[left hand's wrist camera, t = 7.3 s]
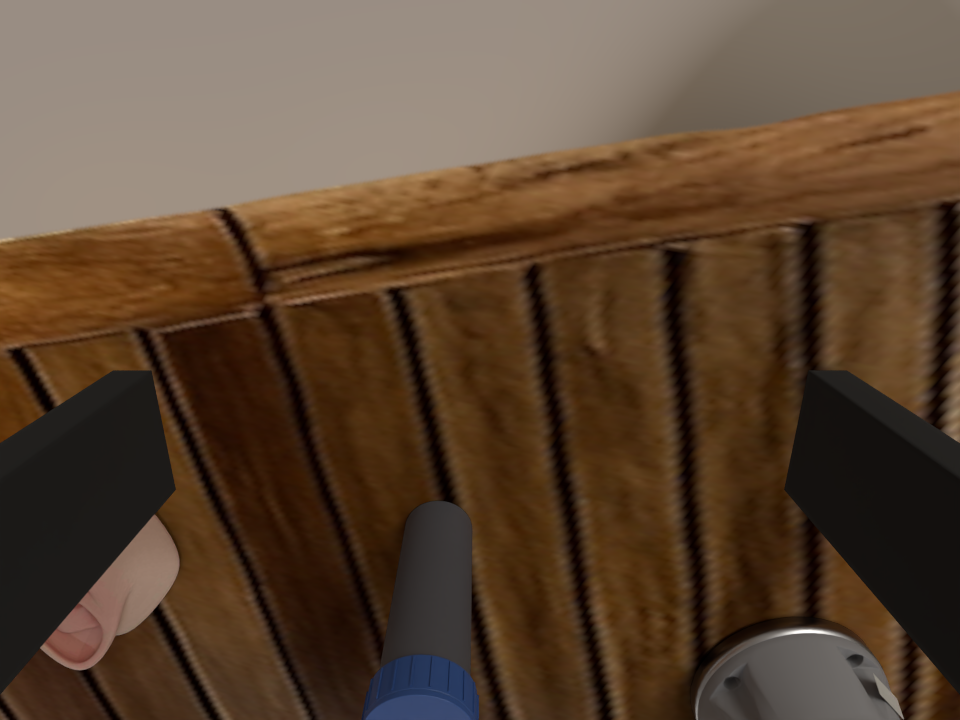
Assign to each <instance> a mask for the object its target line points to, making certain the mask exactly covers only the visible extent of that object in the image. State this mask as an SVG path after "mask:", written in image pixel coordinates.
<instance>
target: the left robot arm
mask: <svg viewBox="0 0 960 720" xmlns="http://www.w3.org/2000/svg"><path fill="white" fill-rule="evenodd" d="M175 490H176V489H175V484H174V479H173V474H172V469H171V464H170V459H169V454H168V449H167V445H166V440H165V435H164V430H163V425H162V420H161V415H160V410H159V405H158V400H157V395H156V391H155V386H154V381H153V376H152V371H112V372H110V373H109V374H107V375H105V376H104V377H102V378H101V379H99V380H98V381H96V382H95V383H93V384H92V385H90V386H88V387H87V388H85V389H84V390H82V391H81V392H79V393H78V394H76V395H74V396H73V397H71V398H70V399H68V400H67V401H65V402H64V403H62V404H60V405H59V406H57V407H56V408H54V409H53V410H51V411H50V412H48V413H46V414H45V415H43V416H42V417H40V418H39V419H37V420H36V421H34V422H33V423H31V424H29V425H28V426H26V427H25V428H23V429H22V430H20V431H19V432H17V433H15V434H14V435H12V436H11V437H9V438H8V439H6V440H5V441H3V442H1V443H0V694H1V693H2V692H3V691H4V689H5V688H6V687H7V686H8V685H9V684H10V682H11V681H12V680H13V679H14V678H15V677H16V675H17V674H18V673H19V672H20V671H21V670H22V668H23V667H24V666H25V665H26V664H27V663H28V661H29V660H30V659H31V658H32V657H33V656H34V654H35V653H36V652H37V651H38V650H39V649H40V647H41V646H42V645H43V644H44V643H45V642H46V640H47V639H48V638H49V637H50V636H51V635H52V633H53V632H54V631H55V630H56V629H57V628H58V626H59V625H60V624H61V623H62V622H63V621H64V619H65V618H66V617H67V616H68V615H69V614H70V612H71V611H72V610H73V609H74V608H75V607H76V605H77V604H78V603H79V602H80V601H81V600H82V598H83V597H84V596H85V595H86V594H87V593H88V591H89V590H90V589H91V588H92V587H93V586H94V584H95V583H96V582H97V581H98V580H99V579H100V577H101V576H102V575H103V574H104V573H105V572H106V570H107V569H108V568H109V567H110V566H111V565H112V563H113V562H114V561H115V560H116V559H117V558H118V556H119V555H120V554H121V553H122V552H123V551H124V549H125V548H126V547H127V546H128V545H129V544H130V542H131V541H132V540H133V539H134V538H135V537H136V535H137V534H138V533H139V532H140V531H141V530H142V528H143V527H144V526H145V525H146V524H147V523H148V521H149V520H150V519H151V518H152V517H153V516H154V514H155V513H156V512H157V511H158V510H159V509H160V507H161V506H162V505H163V504H164V503H165V502H166V500H167V499H168V498H169V497H170V496H171V495H172V493H173V492H174V491H175ZM784 490H785V491H786V492H787V493H788V495H789V496H790V497H791V498H792V499H793V500H794V502H795V503H796V504H797V505H798V506H799V507H800V509H801V510H802V511H803V512H804V513H805V514H806V516H807V517H808V518H809V519H810V520H811V521H812V523H813V524H814V525H815V526H816V527H817V528H818V530H819V531H820V532H821V533H822V534H823V535H824V537H825V538H826V539H827V540H828V541H829V542H830V544H831V545H832V546H833V547H834V548H835V549H836V551H837V552H838V553H839V554H840V555H841V556H842V558H843V559H844V560H845V561H846V562H847V563H848V565H849V566H850V567H851V568H852V569H853V570H854V572H855V573H856V574H857V575H858V576H859V577H860V579H861V580H862V581H863V582H864V583H865V584H866V586H867V587H868V588H869V589H870V590H871V591H872V593H873V594H874V595H875V596H876V597H877V598H878V600H879V601H880V602H881V603H882V604H883V605H884V607H885V608H886V609H887V610H888V611H889V612H890V614H891V615H892V616H893V617H894V618H895V619H896V621H897V622H898V623H899V624H900V625H901V626H902V628H903V629H904V630H905V631H906V632H907V633H908V635H909V636H910V637H911V638H912V639H913V640H914V642H915V643H916V644H917V645H918V646H919V647H920V649H921V650H922V651H923V652H924V653H925V654H926V656H927V657H928V658H929V659H930V660H931V661H932V663H933V664H934V665H935V666H936V667H937V668H938V670H939V671H940V672H941V673H942V674H943V675H944V677H945V678H946V679H947V680H948V681H949V682H950V684H951V685H952V686H953V687H954V688H955V689H956V691H957V692H958V693H959V694H960V443H959V442H957V441H955V440H954V439H952V438H951V437H949V436H948V435H946V434H945V433H943V432H941V431H940V430H938V429H937V428H935V427H934V426H932V425H931V424H929V423H927V422H926V421H924V420H923V419H921V418H920V417H918V416H917V415H915V414H914V413H912V412H910V411H909V410H907V409H906V408H904V407H903V406H901V405H900V404H898V403H896V402H895V401H893V400H892V399H890V398H889V397H887V396H886V395H884V394H882V393H881V392H879V391H878V390H876V389H875V388H873V387H872V386H870V385H868V384H867V383H865V382H864V381H862V380H861V379H859V378H858V377H856V376H855V375H853V374H851V373H850V372H848V371H808V376H807V381H806V386H805V391H804V395H803V400H802V405H801V410H800V415H799V420H798V425H797V430H796V435H795V440H794V445H793V449H792V454H791V459H790V464H789V469H788V474H787V479H786V484H785V489H784ZM690 701H691V707H692V710H693V713H694V716H695V719H696V720H900V718H899V715H900V716H901V717H902V718H903V715H902V712H901V709H900V706H899V704H898V701H897V698H896V697H895V696H894V695H893V694H892V693H891V690H890V687H889V684H888V681H887V678H886V676H885V674H884V671H883V669H882V667H881V665H880V663H879V662H878V660H877V659H876V658H875V656H874V655H873V654H872V652H871V651H870V650H869V648H868V647H867V646H866V644H865V643H864V642H863V640H862V639H861V638H859V637H858V636H857V635H856V634H855V633H854V632H852V631H851V630H849V629H847V628H846V627H844V626H842V625H839V624H837V623H834V622H831V621H828V620H824V619H819V618H811V617H787V618H779V619H774V620H769V621H765V622H762V623H758V624H755V625H753V626H750V627H748V628H745V629H743V630H741V631H739V632H737V633H735V634H734V635H732V636H730V637H729V638H727V639H726V640H724V641H723V642H722V643H720V644H719V645H718V646H717V647H715V648H714V649H713V650H712V651H711V652H710V653H709V654H708V656H707V657H706V658H705V659H704V660H703V662H702V663H701V664H700V666H699V668H698V670H697V671H696V674H695V676H694V678H693V681H692V685H691V691H690ZM898 714H899V715H898ZM903 719H904V718H903Z"/></svg>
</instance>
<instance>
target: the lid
mask: <svg viewBox="0 0 960 720" xmlns="http://www.w3.org/2000/svg"><path fill="white" fill-rule="evenodd" d="M362 720H479V695H477V690H476V686H475V682H473V680H472V678H471V677H470V675H469V674H468V673H467V672H466V671H465V670H464V669H463V668H462V667H461V666H459V665H458V664H456V663H454V662H452V661H450V660H448V659H445V658H442V657H438V656H433V655H423V654H420V655H409V656H405V657H401V658H398V659H395V660H393V661H391V662H389V663H387V664H386V665H385V666H383V667H382V668H381V669H380V670H379V671H378V672H377V673H376V674H375V675H374V677H373V679H371V681H370V686H369V692H367V694H366V699H365V704H364V709H363V714H362Z"/></svg>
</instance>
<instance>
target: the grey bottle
mask: <svg viewBox="0 0 960 720" xmlns="http://www.w3.org/2000/svg"><path fill="white" fill-rule="evenodd" d="M471 585H472V524H471V521H470V518H469V517H468V515H467V514H466V513H465V512H464V511H463V510H462V509H461V508H460V507H458V506H456V505H454V504H452V503H449V502H445V501H431V502H427V503H424V504H422V505H420V506H418V507H417V508H415V509H414V510H413V511H412V512H411V513H410V515H409V516H408V518H407V521H406V525H405V531H404V536H403V542H402V547H401V553H400V559H399V564H398V570H397V575H396V581H395V587H394V592H393V598H392V603H391V609H390V614H389V620H388V626H387V631H386V637H385V642H384V648H383V654H382V659H381V665H380V669H381V668H382V667H383V666H385V665H386V664H387V663H389V662H391V661H393V660H395V659H398V658H401V657H405V656H409V655H420V654H423V655H433V656H438V657H442V658H445V659H448V660H450V661H452V662H454V663H456V664H458V665H459V666H461V667H462V668H463V669H464V670H465V671H466V672H467V673H468V674H469V675H470V665H471Z"/></svg>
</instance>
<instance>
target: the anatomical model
mask: <svg viewBox="0 0 960 720" xmlns="http://www.w3.org/2000/svg"><path fill="white" fill-rule="evenodd" d="M178 571H179V555H178V551H177V548H176V546H175V544H174V542H173V540H172V538H171V536H170V534H169V533H168V531H167V530H166V528H165V527H164V525H163V524H162V523H161V521H160V520H159V519H158V517H157V516H156V515H155V514H154V516H153V517H152V518H151V519H150V520H149V521H148V523H147V524H146V525H145V526H144V527H143V528H142V530H141V531H140V532H139V533H138V534H137V535H136V537H135V538H134V539H133V540H132V541H131V542H130V544H129V545H128V546H127V547H126V548H125V549H124V551H123V552H122V553H121V554H120V555H119V556H118V558H117V559H116V560H115V561H114V562H113V563H112V565H111V566H110V567H109V568H108V569H107V570H106V572H105V573H104V574H103V575H102V576H101V577H100V579H99V580H98V581H97V582H96V583H95V584H94V586H93V587H92V588H91V589H90V590H89V591H88V593H87V594H86V595H85V596H84V597H83V598H82V600H81V601H80V602H79V603H78V604H77V605H76V607H75V608H74V609H73V610H72V611H71V612H70V614H69V615H68V616H67V617H66V618H65V619H64V621H63V622H62V623H61V624H60V625H59V626H58V628H57V629H56V630H55V631H54V632H53V633H52V635H51V636H50V637H49V638H48V639H47V640H46V642H45V643H44V644H43V645H42V646H41V647H40V648H41V649H42V650H43V651H44V652H45V653H46V654H48V655H49V656H50V657H51V658H53V659H54V660H56V661H57V662H59V663H60V664H62V665H64V666H66V667H68V668H71V669H74V670H85V669H88V668H90V667H92V666H94V665H95V664H96V663H97V662H98V661H99V660H100V659H101V658H102V657H103V656H104V654H105V653H106V652H107V650H108V649H109V647H110V645H111V643H112V642H113V639H114V637H115V635H121V634H124V633H127V632H129V631H131V630H133V629H134V628H135V627H137V626H138V625H139V624H140V623H141V622H142V621H144V620H145V619H146V618H147V617H148V616H149V615H150V613H151V612H152V611H153V610H154V609H155V608H156V607H157V605H158V604H159V603H160V602H161V600H162V599H163V598H164V597H165V595H166V594H167V592H168V591H169V589H170V588H171V586H172V584H173V583H174V581H175V579H176V577H177V574H178Z"/></svg>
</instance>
